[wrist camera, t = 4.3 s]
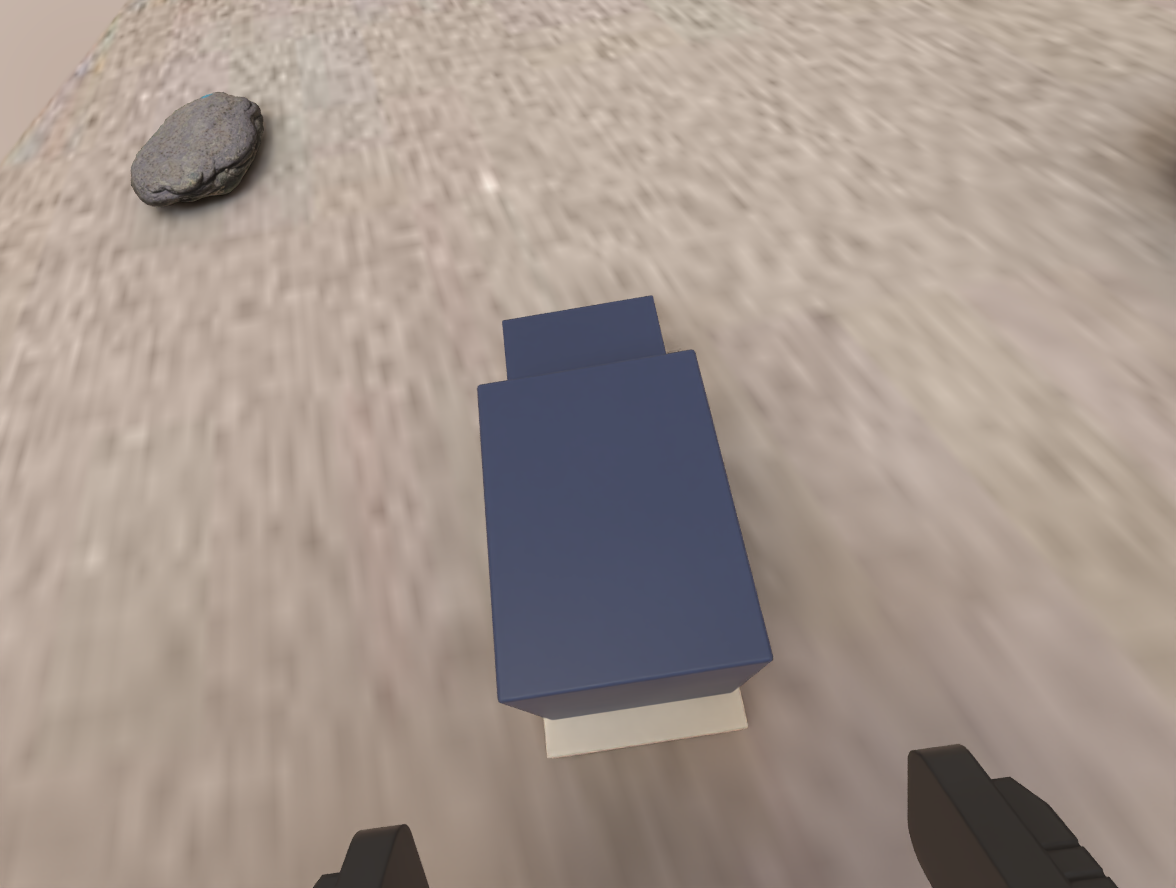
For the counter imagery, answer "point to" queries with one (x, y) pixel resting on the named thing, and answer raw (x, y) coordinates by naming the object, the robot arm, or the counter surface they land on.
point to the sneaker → (613, 536)
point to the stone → (198, 151)
